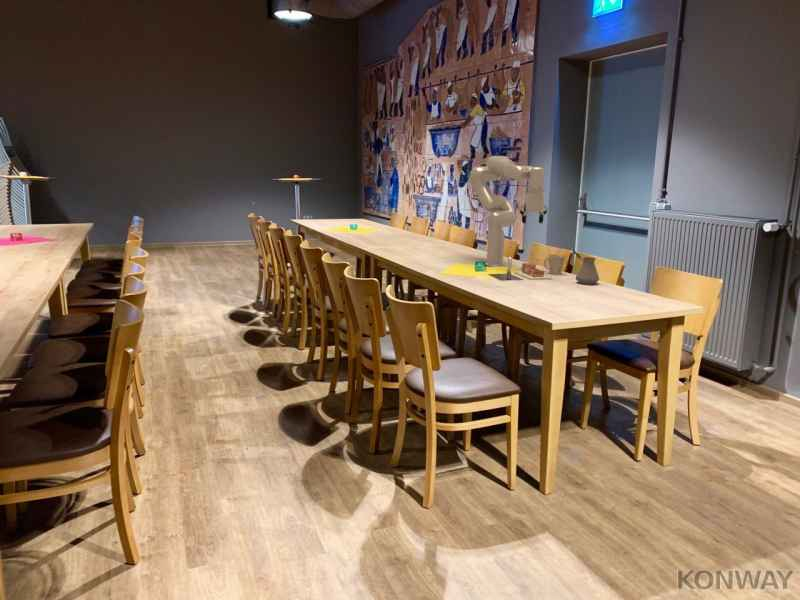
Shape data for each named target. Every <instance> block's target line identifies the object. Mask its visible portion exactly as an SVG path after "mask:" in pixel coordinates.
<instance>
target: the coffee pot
mask: <svg viewBox="0 0 800 600" xmlns="http://www.w3.org/2000/svg"><path fill="white" fill-rule="evenodd" d="M571 252H572V253H573V254H575V256H576V257H577V258H578V259H579V260H581V262H582V264H581V266H580V268H579V270H578V272H577V273H576V276H575V279H576V281H577V282H578V284H582V285H588V286H590V285H595V284H596V283H598V281H600V276H599V273H598V270H597V267H596V264H595V260H596V257H591V256H584V257H581V255H580V254H579V253H578V252H577V251H576V250H575V249H571Z"/></svg>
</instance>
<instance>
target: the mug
mask: <svg viewBox="0 0 800 600" xmlns="http://www.w3.org/2000/svg"><path fill="white" fill-rule="evenodd" d="M547 261H548V266H547V264H546V263H547ZM564 261H565V255H562V254H548V256H547V257H545V259H544V261H543V266H544V267H545V268H546V270H549V271H548V272H549V274H550V275H556V276H557V275H559V276H560V275H562V271H563V267H564V266H563V265H564Z"/></svg>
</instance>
